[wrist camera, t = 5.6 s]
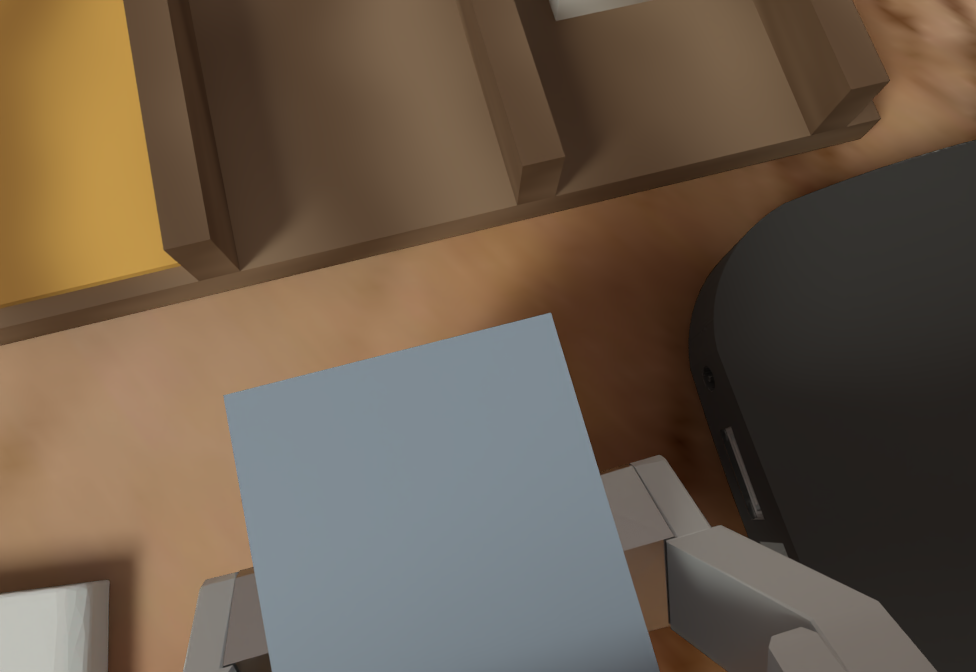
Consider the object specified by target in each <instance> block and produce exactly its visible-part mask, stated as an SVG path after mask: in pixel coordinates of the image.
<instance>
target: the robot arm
mask: <svg viewBox="0 0 976 672" xmlns="http://www.w3.org/2000/svg"><path fill="white" fill-rule="evenodd" d="M599 473H600V476H601V479H602V483H603V486H604V489H605V493H606V496H607V499H608V502H609V506H610V509H611V512H612V516H613V519H614V522H615V525H616V529H617V532H618V535H619V539H620V542H621V545H622V549H623V552H624V555H625V558H626V562H627V565H628V568H629V572H630V575H631V578H632V581H633V585H634V588H635V591H636V595H637V598H638V601H639V604H640V608H641V611H642V614H643V618H644V621H645V624H646V627H647V631H648V632H649V631H652V630H656V629H660V628H664V627H667V626H671V629H672V630H673V631H675V632H676V633H677V634H679V635H680V636H681V637H683V638H684V639H685V640H687V641H688V642H689V643H691V644H692V645H693V646H695V647H696V648H697V649H699V650H700V651H701V652H703V653H704V654H705V655H707V656H708V657H709V658H710V659H712V660H713V661H714V662H716V663H717V664H718V665H720V666H721V667H722V668H724V669H725V670H726V671H728V672H937V670H936V669H935V668H934V667H933V666H932V664H931V663H930V662H929V661H928V660H927V658H926V657H925V656H924V655H923V654H922V653H921V651H920V650H919V649H918V648H917V647H916V645H915V644H914V643H913V642H912V641H911V639H910V638H909V637H908V636H907V635H906V633H905V632H904V631H903V630H902V629H901V628H900V626H899V625H898V624H897V623H896V622H895V620H894V619H893V618H892V617H891V616H890V614H889V613H888V612H887V611H886V610H885V609H884V607H883V606H882V605H881V604H880V603H879V601H877V600H875V599H873V598H871V597H868V596H866V595H864V594H862V593H860V592H858V591H856V590H854V589H852V588H850V587H848V586H846V585H844V584H842V583H840V582H838V581H835V580H833V579H831V578H829V577H827V576H825V575H823V574H821V573H819V572H817V571H815V570H813V569H811V568H809V567H807V566H805V565H803V564H800V563H798V562H796V561H794V560H792V559H790V558H788V557H786V556H784V555H782V554H780V553H778V552H776V551H774V550H772V549H770V548H767V547H765V546H763V545H761V544H759V543H757V542H755V541H753V540H751V539H749V538H747V537H745V536H743V535H741V534H739V533H737V532H734V531H732V530H730V529H728V528H726V527H724V526H722V525H719V526H715V527H711V526H710V524H709V523H708V521H707V520H706V518H705V517H704V515H703V514H702V512H701V511H700V509H699V508H698V506H697V505H696V503H695V502H694V500H693V499H692V497H691V496H690V494H689V493H688V491H687V490H686V488H685V487H684V485H683V484H682V482H681V481H680V479H679V478H678V476H677V475H676V474H675V472H674V471H673V469H672V468H671V466H670V465H669V463H668V462H667V460H666V459H665V458H664V457H663V456H661V455H657V456H653V457H650V458H646V459H643V460H639V461H636V462H632V463H630V464H629V465H628V464H626V465H623V466H619V467H616V468H612V469H609V470H605V471H602V472H599ZM183 672H272V669H271V664H270V658H269V652H268V647H267V641H266V635H265V630H264V624H263V618H262V612H261V607H260V601H259V595H258V590H257V584H256V578H255V573H254V567H252V568H248V569H244V570H240V571H239V572H235V573H231V574H227V575H223V576H219V577H215V578H211V579H207V580H205V582H204V583H203V585H202V586H201V588H200V590H199V595H198V600H197V605H196V610H195V615H194V620H193V625H192V630H191V635H190V640H189V645H188V650H187V655H186V660H185V665H184V670H183Z"/></svg>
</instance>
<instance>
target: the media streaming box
mask: <svg viewBox="0 0 976 672" xmlns="http://www.w3.org/2000/svg"><path fill="white" fill-rule="evenodd" d="M689 360H690V369H691V372H692V375H693V378H694V381H695V385H696V388H697V391H698V394H699V397H700V400H701V404H702V407H703V410H704V413H705V416H706V419H707V422H708V425H709V428H710V431H711V434H712V437H713V440H714V443H715V446H716V449H717V452H718V454H719V457H720V460H721V463H722V466H723V469H724V472H725V474H726V477H727V480H728V483H729V486H730V488H731V491H732V494H733V497H734V499H735V502H736V505H737V508H738V510H739V513H740V516H741V518H742V521H743V524H744V526H745V529H746V532H747V534H748V537H749V539H751V540H753V541H755V542H757V543H759V544H761V545H763V546H765V547H767V548H770V549H772V550H774V551H776V552H778V553H780V554H782V555H784V556H786V557H788V558H790V559H792V560H794V561H796V562H798V563H800V564H803V565H805V566H807V567H809V568H811V569H813V570H815V571H817V572H819V573H821V574H823V575H825V576H827V577H829V578H831V579H833V580H835V581H838V582H840V583H842V584H844V585H846V586H848V587H850V588H852V589H854V590H856V591H858V592H860V593H862V594H864V595H866V596H868V597H871V598H873V599H875V600H877V601H879V603H880V604H881V605H882V606H883V607H884V609H885V610H886V611H887V612H888V613H889V614H890V616H891V617H892V618H893V619H894V620H895V622H896V623H897V624H898V625H899V626H900V628H901V629H902V630H903V631H904V632H905V633H906V635H907V636H908V637H909V638H910V639H911V641H912V642H913V643H914V644H915V645H916V647H917V648H918V649H919V650H920V651H921V653H922V654H923V655H924V656H925V657H926V658H927V660H928V661H929V662H930V663H931V664H932V666H933V667H934V668H935V669H936V670H937V672H976V140H973V141H969V142H965V143H962V144H958V145H954V146H951V147H947V148H944V149H940V150H937V151H933V152H930V153H927V154H923V155H920V156H917V157H913V158H910V159H907V160H904V161H901V162H898V163H894V164H891V165H888V166H885V167H882V168H879V169H876V170H873V171H870V172H867V173H865V174H862V175H859V176H856V177H853V178H850V179H847V180H845V181H842V182H839V183H836V184H834V185H831V186H828V187H826V188H823V189H820V190H818V191H815V192H812V193H810V194H807V195H805V196H802V197H800V198H797V199H795V200H792V201H789V202H787V203H784V204H783V205H781V206H780V207H778V208H776V209H775V210H773V211H772V212H770V213H769V214H768V215H766V216H765V217H764V218H763V219H761V220H760V221H759V222H758V223H757V224H756V225H755V226H754V227H753V228H751V229H750V230H749V231H748V232H747V233H746V235H745V236H744V237H743V238H742V239H741V240H740V241H739V242H738V243H737V244H736V245H735V246H734V247H733V248H732V249H731V250H730V251H729V252H728V253H727V254H726V255H725V256H724V257H723V259H722V260H721V261H720V262H719V263H718V264H717V265H716V267H715V268H714V269H713V270H712V272H711V273H710V275H709V276H708V278H707V279H706V281H705V283H704V285H703V287H702V288H701V290H700V293H699V295H698V298H697V300H696V303H695V306H694V310H693V313H692V318H691V323H690V330H689ZM722 439H723V440H722ZM723 442H724V443H723ZM724 445H725V446H724ZM725 448H726V449H725ZM726 451H727V452H726ZM727 453H728V454H727ZM728 456H729V457H728ZM729 459H730V460H729ZM730 462H731V463H730ZM731 465H732V466H731ZM732 467H733V469H732ZM733 470H734V471H733ZM734 473H735V474H734ZM735 476H736V477H735ZM736 479H737V480H736ZM737 481H738V483H737ZM738 484H739V485H738ZM739 487H740V488H739ZM740 490H741V491H740ZM741 492H742V493H741ZM742 495H743V496H742ZM743 498H744V499H743ZM744 501H745V502H744ZM746 506H747V507H746ZM747 509H748V510H747Z"/></svg>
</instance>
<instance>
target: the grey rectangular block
mask: <svg viewBox="0 0 976 672" xmlns="http://www.w3.org/2000/svg"><path fill="white" fill-rule="evenodd" d="M223 396H224V402H225V407H226V413H227V419H228V424H229V430H230V436H231V441H232V447H233V453H234V459H235V464H236V470H237V476H238V481H239V487H240V493H241V498H242V504H243V510H244V516H245V521H246V527H247V533H248V538H249V544H250V550H251V555H252V561H253V567H254V573H255V578H256V584H257V590H258V595H259V601H260V607H261V612H262V618H263V624H264V630H265V635H266V641H267V647H268V652H269V658H270V664H271V669H272V672H660V670H659V667H658V664H657V660H656V657H655V654H654V651H653V647H652V644H651V641H650V637H649V634H648V631H647V627H646V624H645V621H644V618H643V614H642V611H641V608H640V604H639V601H638V598H637V595H636V591H635V588H634V585H633V581H632V578H631V575H630V572H629V568H628V565H627V562H626V558H625V555H624V552H623V549H622V545H621V542H620V539H619V535H618V532H617V529H616V525H615V522H614V519H613V516H612V512H611V509H610V506H609V502H608V499H607V496H606V493H605V489H604V486H603V483H602V479H601V476H600V473H599V470H598V466H597V463H596V460H595V456H594V453H593V450H592V446H591V443H590V440H589V437H588V433H587V430H586V427H585V423H584V420H583V417H582V414H581V410H580V407H579V404H578V400H577V397H576V394H575V391H574V387H573V384H572V381H571V377H570V374H569V371H568V367H567V364H566V361H565V358H564V354H563V351H562V348H561V344H560V341H559V338H558V335H557V331H556V328H555V325H554V321H553V318H552V315H551V313H547V314H543V315H539V316H535V317H531V318H527V319H524V320H520V321H516V322H512V323H508V324H504V325H500V326H496V327H492V328H488V329H484V330H480V331H476V332H472V333H468V334H464V335H460V336H456V337H452V338H449V339H445V340H441V341H437V342H433V343H429V344H425V345H421V346H417V347H413V348H409V349H405V350H401V351H397V352H393V353H389V354H385V355H381V356H377V357H374V358H370V359H366V360H362V361H358V362H354V363H350V364H346V365H342V366H338V367H334V368H330V369H326V370H322V371H318V372H314V373H310V374H306V375H302V376H298V377H295V378H291V379H287V380H283V381H279V382H275V383H271V384H267V385H263V386H259V387H255V388H251V389H247V390H243V391H239V392H235V393H231V394H227V395H223Z"/></svg>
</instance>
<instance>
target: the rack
mask: <svg viewBox="0 0 976 672" xmlns="http://www.w3.org/2000/svg"><path fill="white" fill-rule="evenodd" d="M889 81H890V79H889V77H888V75H887V73H886V71H885V69H884V66H883V64H882V62H881V60H880V58H879V56H878V54H877V52H876V50H875V47H874V45H873V43H872V41H871V39H870V37H869V35H868V33H867V31H866V28H865V26H864V24H863V22H862V20H861V18H860V16H859V14H858V11H857V9H856V7H855V5H854V3H853V1H852V0H0V346H1V345H5V344H9V343H13V342H17V341H21V340H26V339H30V338H34V337H38V336H42V335H46V334H51V333H55V332H59V331H63V330H67V329H71V328H75V327H80V326H84V325H88V324H92V323H96V322H100V321H105V320H109V319H113V318H117V317H121V316H125V315H130V314H134V313H138V312H142V311H146V310H150V309H154V308H159V307H163V306H167V305H171V304H175V303H179V302H184V301H188V300H192V299H196V298H200V297H204V296H209V295H213V294H217V293H221V292H225V291H229V290H233V289H238V288H242V287H246V286H250V285H254V284H258V283H263V282H267V281H271V280H275V279H279V278H283V277H288V276H292V275H296V274H300V273H304V272H308V271H312V270H317V269H321V268H325V267H329V266H333V265H337V264H342V263H346V262H350V261H354V260H358V259H362V258H367V257H371V256H375V255H379V254H383V253H387V252H391V251H396V250H400V249H404V248H408V247H412V246H416V245H421V244H425V243H429V242H433V241H437V240H441V239H446V238H450V237H454V236H458V235H462V234H466V233H471V232H475V231H479V230H483V229H487V228H491V227H495V226H500V225H504V224H508V223H512V222H516V221H520V220H525V219H529V218H533V217H537V216H541V215H545V214H550V213H554V212H558V211H562V210H566V209H570V208H574V207H579V206H583V205H587V204H591V203H595V202H599V201H604V200H608V199H612V198H616V197H620V196H624V195H629V194H633V193H637V192H641V191H645V190H649V189H653V188H658V187H662V186H666V185H670V184H674V183H678V182H683V181H687V180H691V179H695V178H699V177H703V176H708V175H712V174H716V173H720V172H724V171H728V170H732V169H737V168H741V167H745V166H749V165H753V164H757V163H762V162H766V161H770V160H774V159H778V158H782V157H787V156H791V155H795V154H799V153H803V152H807V151H811V150H816V149H820V148H824V147H828V146H832V145H836V144H841V143H845V142H849V141H853V140H857V139H861V138H862V137H863V136H864V135H865V134H866V133H867V132H868V131H869V130H870V129H871V128H872V127H873V126H874V125H875V124H876V123H877V122H878V121H879V120H880V119H881V118H880V116H879V114H878V112H877V109H876V107H875V105H874V103H873V101H872V99H873V98H874V97H875V96H876V95H877V94H878V93H879V92H880V91H881V90H882V89H883V88H884V86H885V85H886V84H887V83H888V82H889Z"/></svg>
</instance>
